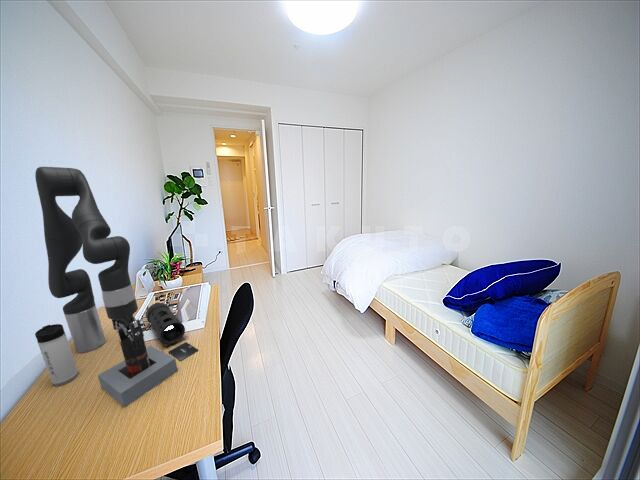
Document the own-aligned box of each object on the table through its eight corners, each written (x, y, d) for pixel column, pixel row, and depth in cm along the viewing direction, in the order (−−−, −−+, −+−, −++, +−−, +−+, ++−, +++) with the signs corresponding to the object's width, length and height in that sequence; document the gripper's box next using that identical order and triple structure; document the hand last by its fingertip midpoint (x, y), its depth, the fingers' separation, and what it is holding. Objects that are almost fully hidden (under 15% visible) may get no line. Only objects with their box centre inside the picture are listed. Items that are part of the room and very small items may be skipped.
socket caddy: (101, 388, 79) (97, 375, 78) (153, 357, 92) (150, 345, 91) (124, 407, 71) (120, 393, 70) (177, 370, 84) (175, 358, 83)
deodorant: (129, 378, 82) (119, 340, 79) (150, 369, 86) (141, 332, 83) (132, 388, 78) (121, 348, 74) (154, 377, 82) (144, 339, 78)
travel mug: (75, 369, 88) (58, 320, 83) (81, 376, 84) (64, 325, 80) (50, 381, 83) (31, 330, 78) (56, 389, 79) (36, 336, 75)
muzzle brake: (162, 351, 96) (157, 328, 93) (147, 325, 115) (142, 305, 113) (188, 339, 102) (183, 317, 100) (169, 317, 122) (165, 298, 119)
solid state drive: (186, 343, 100) (185, 341, 100) (198, 351, 95) (198, 350, 94) (168, 353, 95) (168, 351, 95) (180, 362, 89) (180, 361, 89)
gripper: (95, 300, 75) (107, 345, 79) (116, 310, 68) (129, 359, 72) (123, 291, 81) (133, 333, 85) (145, 299, 75) (155, 344, 78)
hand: (131, 345), depth 79 cm, fingers open, 8 cm apart
